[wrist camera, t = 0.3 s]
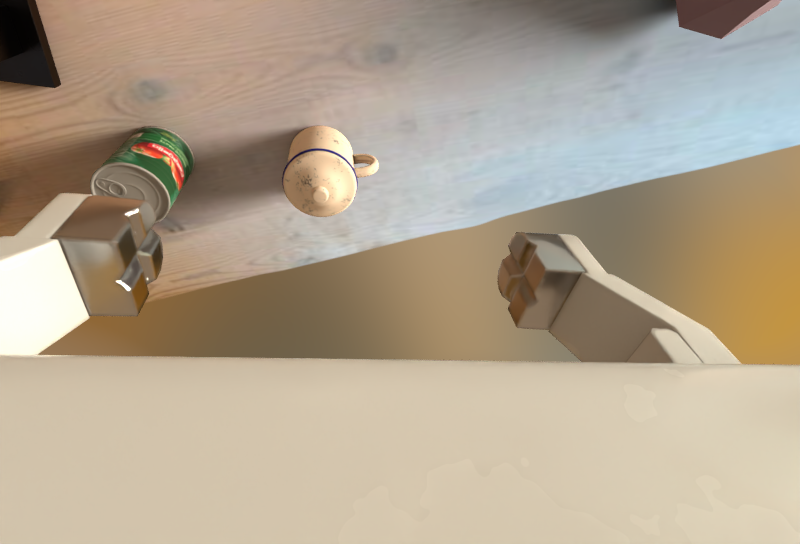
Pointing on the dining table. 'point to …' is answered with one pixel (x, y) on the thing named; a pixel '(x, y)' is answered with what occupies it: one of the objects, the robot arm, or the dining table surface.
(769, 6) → the flask
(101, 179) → the canned tomato
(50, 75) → the lever stand
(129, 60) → the dining table surface
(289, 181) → the teacup with lid
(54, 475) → the robot arm
